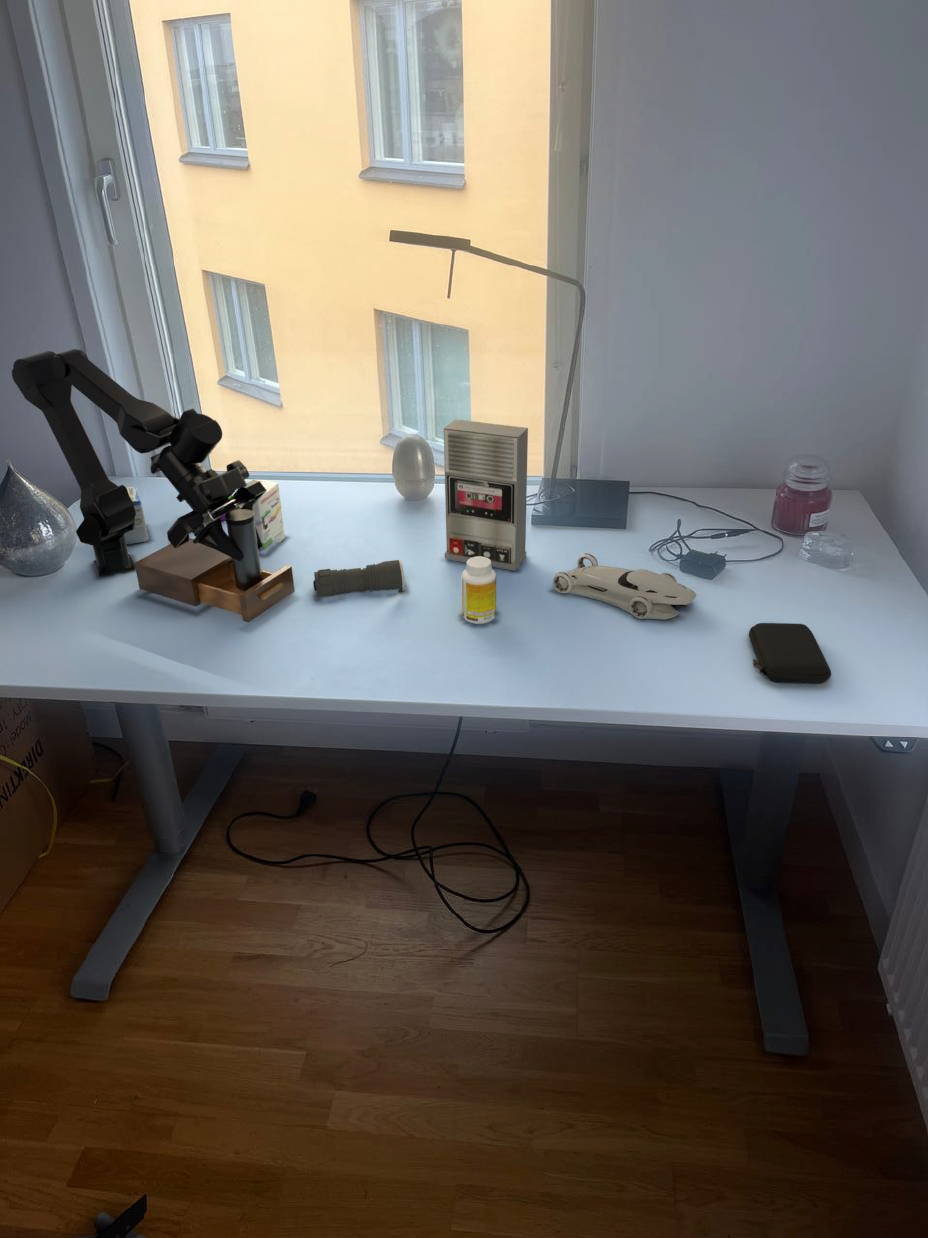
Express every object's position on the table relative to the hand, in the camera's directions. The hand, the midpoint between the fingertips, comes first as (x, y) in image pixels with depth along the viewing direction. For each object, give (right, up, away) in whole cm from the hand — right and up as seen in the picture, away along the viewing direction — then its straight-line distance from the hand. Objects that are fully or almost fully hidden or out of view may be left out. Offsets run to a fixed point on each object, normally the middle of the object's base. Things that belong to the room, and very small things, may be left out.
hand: (251, 553), depth 152 cm
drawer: (-3, -8, +6) cm, 11 cm away
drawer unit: (-13, -6, +12) cm, 18 cm away
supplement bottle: (+37, -10, +2) cm, 39 cm away
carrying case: (+83, -17, -11) cm, 86 cm away
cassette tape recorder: (+39, 0, +20) cm, 44 cm away
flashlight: (+17, -6, +10) cm, 21 cm away
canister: (-1, -5, +4) cm, 6 cm away
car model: (+62, -7, +7) cm, 63 cm away
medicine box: (-30, +6, +32) cm, 44 cm away
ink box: (-4, +3, +27) cm, 27 cm away
